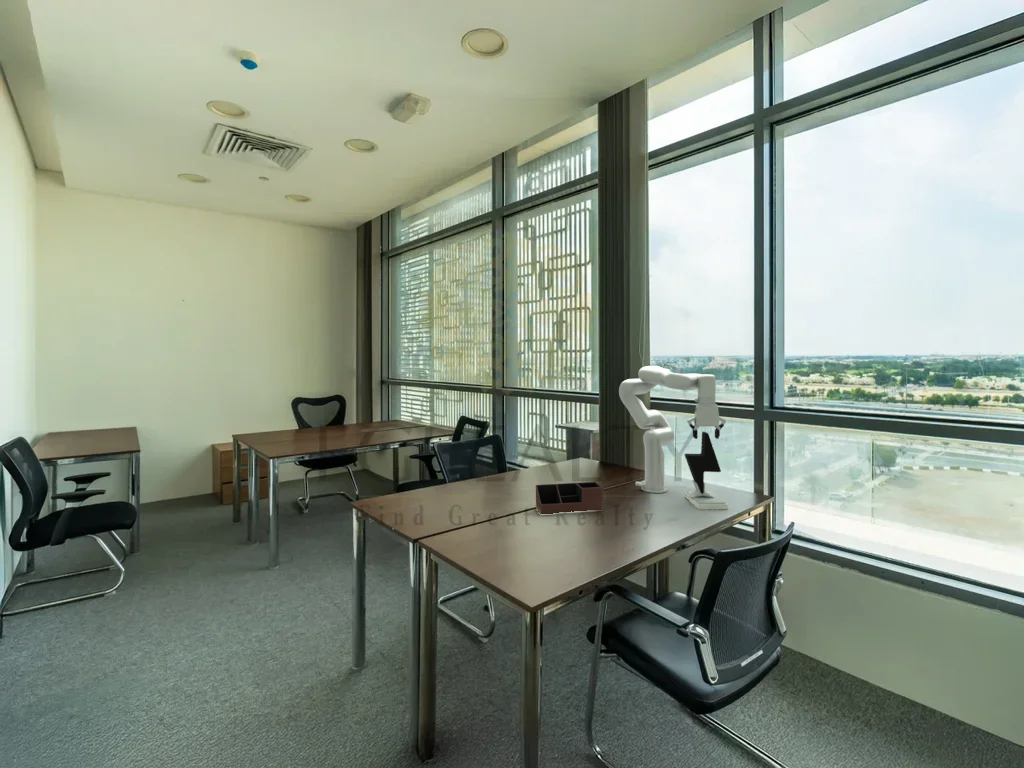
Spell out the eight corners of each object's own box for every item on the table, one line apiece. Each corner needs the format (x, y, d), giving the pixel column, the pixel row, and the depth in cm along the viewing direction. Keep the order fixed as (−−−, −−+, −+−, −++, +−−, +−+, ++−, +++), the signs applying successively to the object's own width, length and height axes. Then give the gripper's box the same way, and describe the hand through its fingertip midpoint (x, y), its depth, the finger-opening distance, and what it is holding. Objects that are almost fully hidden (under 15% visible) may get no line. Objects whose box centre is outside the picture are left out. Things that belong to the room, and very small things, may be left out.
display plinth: (697, 509, 217) (698, 502, 217) (684, 497, 236) (684, 491, 236) (727, 509, 216) (727, 502, 216) (712, 497, 235) (712, 491, 235)
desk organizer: (604, 512, 216) (604, 487, 215) (539, 516, 211) (539, 490, 210) (596, 505, 226) (596, 481, 225) (534, 509, 221) (534, 484, 221)
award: (716, 494, 229) (717, 431, 227) (720, 497, 224) (721, 433, 222) (683, 494, 230) (684, 431, 228) (687, 497, 225) (687, 433, 223)
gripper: (689, 402, 220) (689, 439, 221) (729, 401, 219) (728, 439, 220) (684, 400, 228) (684, 437, 229) (722, 400, 227) (722, 437, 228)
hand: (706, 438), depth 225 cm, fingers open, 9 cm apart
